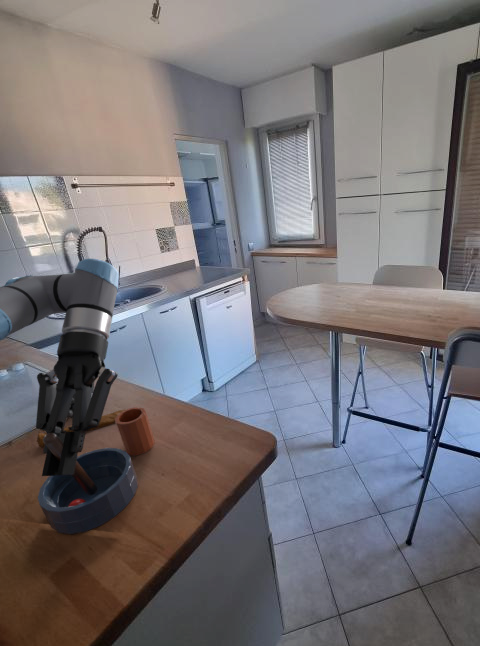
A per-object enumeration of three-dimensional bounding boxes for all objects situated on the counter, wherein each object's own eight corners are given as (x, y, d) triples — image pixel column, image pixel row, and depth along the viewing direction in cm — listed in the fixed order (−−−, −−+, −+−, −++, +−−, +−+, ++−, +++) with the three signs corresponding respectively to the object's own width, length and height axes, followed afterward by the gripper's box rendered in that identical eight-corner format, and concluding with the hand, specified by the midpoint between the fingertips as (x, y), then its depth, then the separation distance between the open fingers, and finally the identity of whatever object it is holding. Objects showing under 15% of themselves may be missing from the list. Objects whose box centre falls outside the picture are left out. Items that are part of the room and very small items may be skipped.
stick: (86, 497, 60) (37, 440, 50) (91, 488, 62) (45, 430, 52) (96, 497, 60) (49, 439, 50) (100, 487, 62) (56, 430, 52)
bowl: (30, 531, 58) (16, 506, 55) (91, 467, 71) (82, 445, 69) (103, 541, 55) (92, 515, 53) (153, 473, 68) (146, 450, 66)
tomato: (62, 507, 59) (62, 519, 57) (74, 493, 60) (75, 504, 57) (79, 511, 61) (79, 523, 59) (90, 497, 61) (91, 508, 59)
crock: (120, 456, 73) (108, 423, 70) (137, 438, 79) (126, 406, 75) (144, 458, 72) (133, 425, 69) (160, 439, 78) (150, 407, 74)
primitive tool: (126, 410, 90) (122, 399, 88) (130, 420, 86) (127, 408, 84) (39, 443, 80) (34, 431, 78) (40, 456, 75) (34, 444, 74)
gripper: (135, 341, 65) (117, 472, 56) (60, 347, 65) (31, 477, 56) (113, 326, 58) (88, 473, 49) (30, 332, 58) (-9, 478, 49)
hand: (58, 475), depth 53 cm, fingers closed on stick, 2 cm apart
